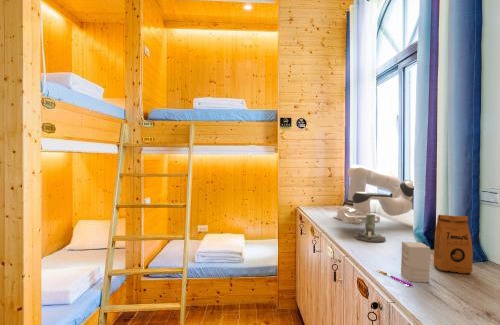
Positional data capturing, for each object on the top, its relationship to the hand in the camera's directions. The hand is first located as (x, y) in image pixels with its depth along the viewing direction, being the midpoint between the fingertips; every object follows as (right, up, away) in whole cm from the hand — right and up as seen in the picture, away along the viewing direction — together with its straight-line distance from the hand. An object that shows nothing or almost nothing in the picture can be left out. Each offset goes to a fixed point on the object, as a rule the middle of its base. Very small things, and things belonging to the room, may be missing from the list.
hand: (369, 221), depth 175 cm
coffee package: (+15, -11, -48) cm, 51 cm away
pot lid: (0, -9, -1) cm, 9 cm away
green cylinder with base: (0, -8, -1) cm, 8 cm away
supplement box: (-5, -10, -58) cm, 59 cm away
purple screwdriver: (-13, -11, -58) cm, 61 cm away
